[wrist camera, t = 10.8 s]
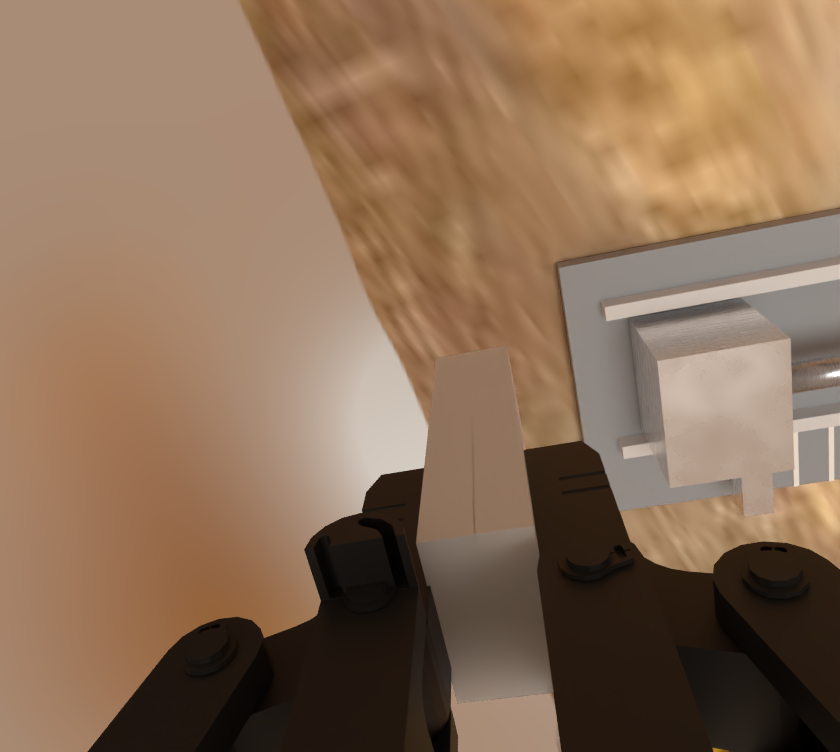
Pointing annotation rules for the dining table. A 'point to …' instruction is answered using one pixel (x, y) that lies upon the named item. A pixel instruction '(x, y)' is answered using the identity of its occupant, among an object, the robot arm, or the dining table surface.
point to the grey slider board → (689, 287)
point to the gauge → (722, 396)
